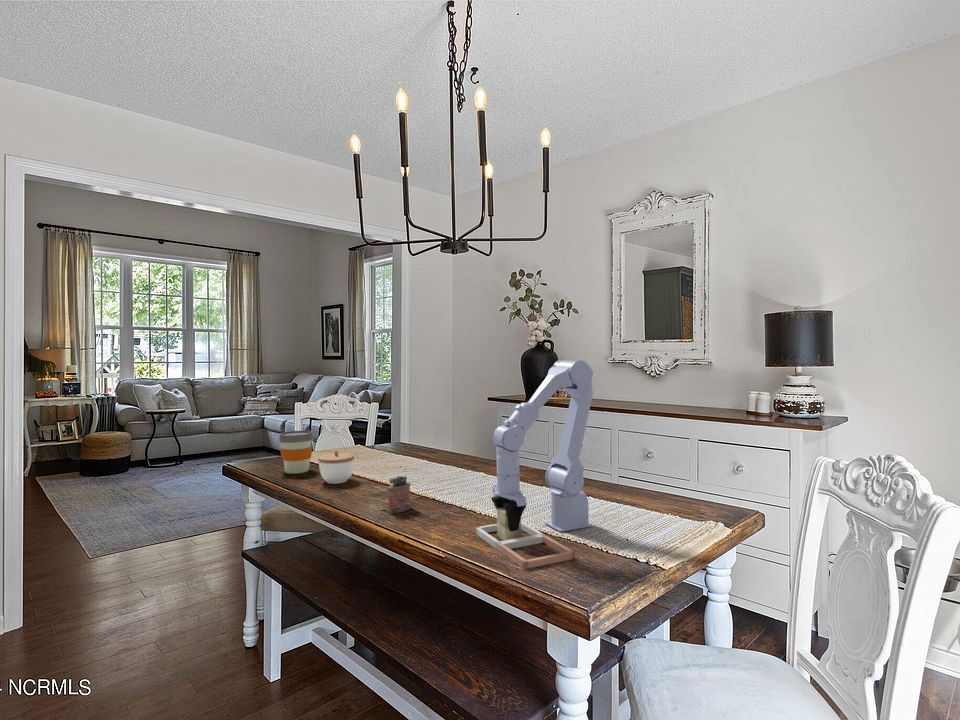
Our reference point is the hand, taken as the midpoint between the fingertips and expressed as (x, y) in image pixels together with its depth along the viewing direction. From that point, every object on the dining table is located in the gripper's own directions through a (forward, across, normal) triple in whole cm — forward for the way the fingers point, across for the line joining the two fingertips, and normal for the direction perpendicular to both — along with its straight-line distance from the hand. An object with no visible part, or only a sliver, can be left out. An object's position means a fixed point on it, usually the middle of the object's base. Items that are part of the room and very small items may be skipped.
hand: (509, 527), depth 141 cm
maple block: (+2, 0, 0) cm, 2 cm away
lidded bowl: (+3, -80, -28) cm, 85 cm away
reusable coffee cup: (+3, -106, -39) cm, 113 cm away
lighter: (+3, -36, -18) cm, 40 cm away
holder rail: (+2, +6, 0) cm, 7 cm away
